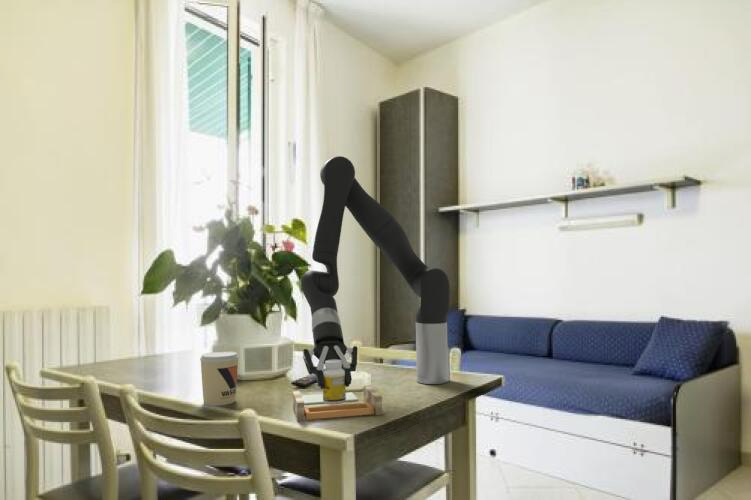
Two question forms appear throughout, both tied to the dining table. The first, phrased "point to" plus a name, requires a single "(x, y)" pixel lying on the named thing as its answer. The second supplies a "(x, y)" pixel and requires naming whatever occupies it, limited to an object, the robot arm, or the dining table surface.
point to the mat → (319, 398)
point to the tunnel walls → (369, 397)
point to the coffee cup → (219, 377)
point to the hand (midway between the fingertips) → (335, 385)
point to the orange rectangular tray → (338, 411)
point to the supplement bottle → (334, 382)
